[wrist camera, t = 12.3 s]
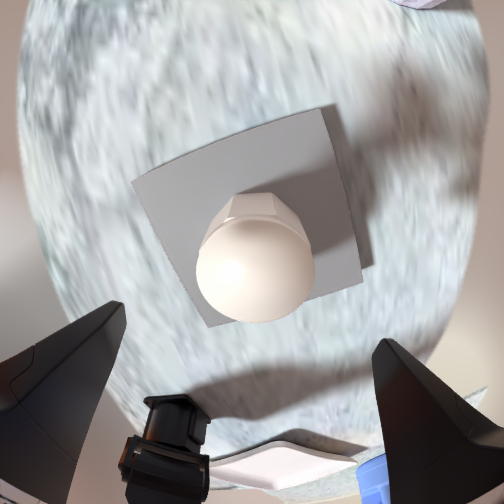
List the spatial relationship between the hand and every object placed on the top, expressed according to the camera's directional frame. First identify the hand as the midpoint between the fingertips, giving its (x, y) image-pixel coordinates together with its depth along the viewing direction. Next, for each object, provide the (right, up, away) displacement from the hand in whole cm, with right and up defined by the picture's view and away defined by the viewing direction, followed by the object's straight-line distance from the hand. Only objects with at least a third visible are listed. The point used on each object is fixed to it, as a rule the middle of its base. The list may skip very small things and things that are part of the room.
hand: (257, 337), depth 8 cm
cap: (0, +4, +8) cm, 9 cm away
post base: (0, +5, +10) cm, 11 cm away
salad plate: (+4, -34, +29) cm, 45 cm away
